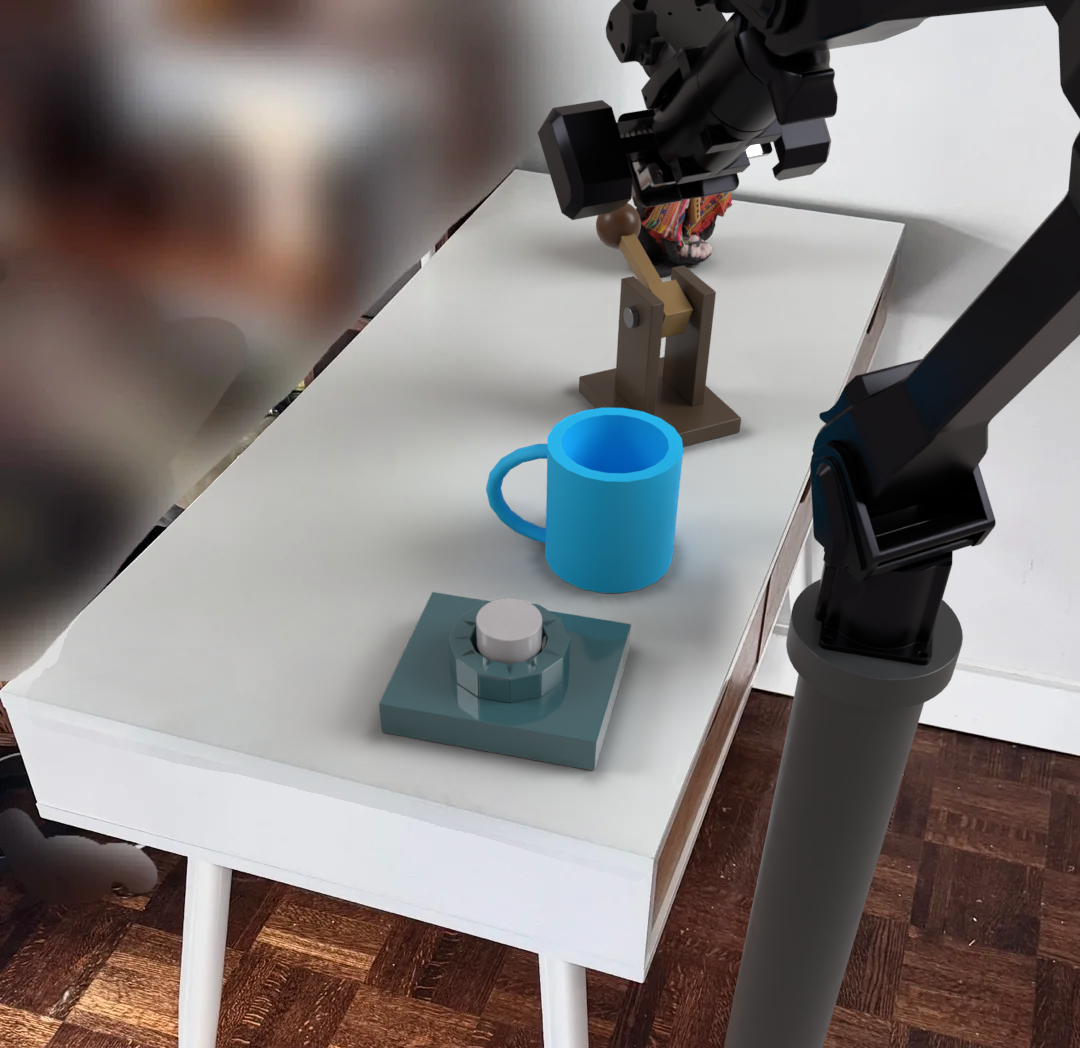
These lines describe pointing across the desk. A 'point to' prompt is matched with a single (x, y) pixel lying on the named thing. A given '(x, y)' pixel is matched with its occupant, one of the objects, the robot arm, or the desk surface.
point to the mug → (603, 498)
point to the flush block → (508, 686)
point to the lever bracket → (664, 363)
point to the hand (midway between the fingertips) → (637, 198)
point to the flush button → (509, 630)
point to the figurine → (680, 230)
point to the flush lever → (644, 266)
